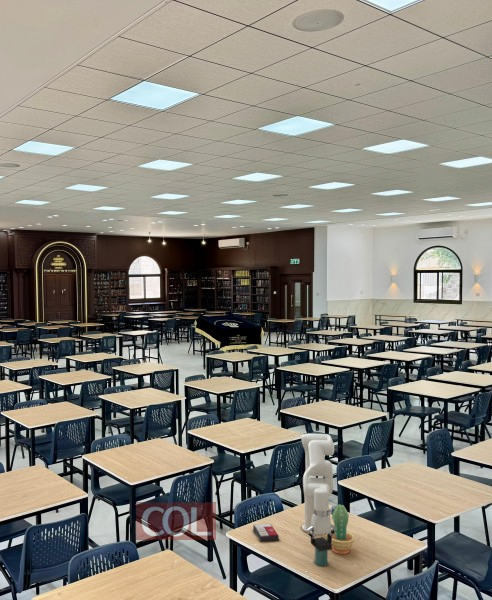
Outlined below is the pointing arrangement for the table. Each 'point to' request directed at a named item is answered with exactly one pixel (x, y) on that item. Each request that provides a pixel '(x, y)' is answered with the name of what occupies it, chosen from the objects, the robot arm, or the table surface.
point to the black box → (322, 544)
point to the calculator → (265, 532)
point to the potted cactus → (341, 530)
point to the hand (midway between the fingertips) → (321, 543)
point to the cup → (321, 557)
